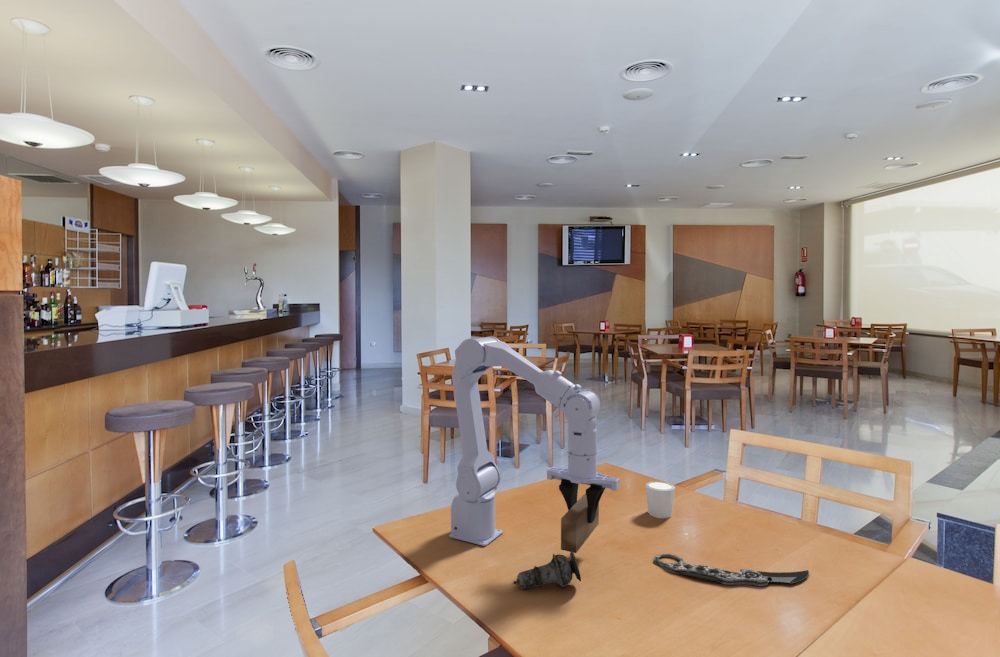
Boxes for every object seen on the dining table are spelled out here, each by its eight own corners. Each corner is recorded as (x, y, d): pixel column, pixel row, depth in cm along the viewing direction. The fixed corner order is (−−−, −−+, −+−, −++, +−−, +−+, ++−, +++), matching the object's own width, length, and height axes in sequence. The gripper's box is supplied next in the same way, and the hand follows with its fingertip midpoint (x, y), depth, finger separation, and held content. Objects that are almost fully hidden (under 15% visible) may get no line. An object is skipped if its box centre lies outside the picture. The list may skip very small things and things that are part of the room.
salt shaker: (581, 587, 97) (517, 605, 96) (571, 555, 101) (510, 572, 100) (581, 576, 93) (515, 594, 92) (571, 543, 97) (507, 561, 96)
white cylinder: (651, 506, 135) (651, 478, 135) (678, 512, 131) (678, 484, 130) (641, 515, 129) (641, 486, 129) (669, 521, 125) (669, 492, 125)
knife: (808, 566, 102) (823, 590, 92) (808, 574, 102) (823, 599, 92) (654, 549, 110) (653, 569, 101) (654, 556, 110) (653, 577, 101)
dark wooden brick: (560, 549, 100) (561, 518, 100) (584, 521, 113) (585, 493, 112) (576, 553, 99) (576, 521, 98) (598, 523, 111) (598, 495, 111)
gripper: (540, 452, 106) (540, 519, 106) (611, 462, 98) (611, 534, 99) (554, 443, 112) (554, 507, 112) (622, 453, 105) (622, 521, 105)
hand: (582, 519), depth 106 cm, fingers closed on dark wooden brick, 3 cm apart
